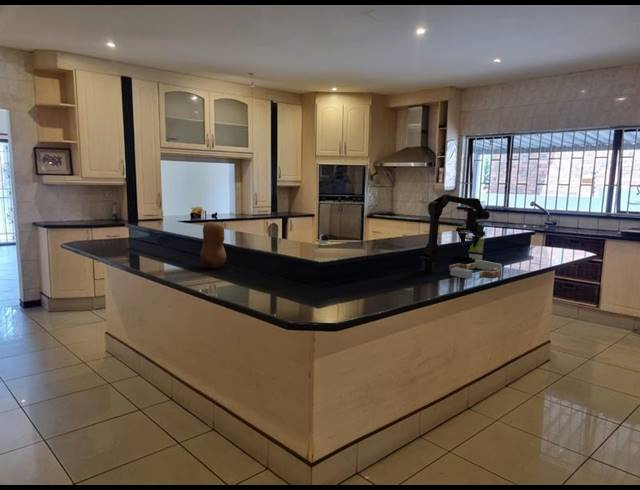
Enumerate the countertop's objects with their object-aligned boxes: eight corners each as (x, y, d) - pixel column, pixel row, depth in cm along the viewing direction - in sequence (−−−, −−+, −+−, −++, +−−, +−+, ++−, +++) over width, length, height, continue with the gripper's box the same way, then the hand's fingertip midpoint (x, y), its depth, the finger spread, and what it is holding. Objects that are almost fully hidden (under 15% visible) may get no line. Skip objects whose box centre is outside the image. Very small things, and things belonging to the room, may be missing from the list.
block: (466, 279, 245) (467, 271, 244) (450, 275, 252) (450, 268, 251) (472, 277, 249) (472, 270, 248) (455, 274, 256) (456, 267, 255)
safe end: (499, 272, 263) (500, 264, 262) (474, 267, 275) (475, 259, 274) (500, 272, 263) (501, 264, 262) (475, 267, 275) (476, 259, 275)
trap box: (487, 278, 246) (488, 273, 245) (448, 270, 264) (449, 265, 263) (507, 273, 260) (508, 268, 260) (469, 266, 278) (469, 261, 278)
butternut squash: (229, 266, 252) (229, 221, 247) (221, 271, 238) (222, 224, 234) (205, 264, 253) (205, 220, 249) (196, 269, 240) (196, 222, 236)
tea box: (458, 258, 304) (460, 236, 301) (458, 255, 313) (460, 234, 311) (482, 260, 299) (484, 238, 297) (481, 257, 309) (483, 236, 306)
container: (330, 253, 302) (330, 234, 300) (329, 255, 295) (330, 235, 293) (318, 252, 303) (319, 233, 301) (317, 254, 296) (318, 235, 293)
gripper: (494, 221, 257) (490, 248, 260) (471, 217, 274) (468, 243, 277) (478, 221, 253) (475, 248, 255) (456, 217, 270) (453, 243, 272)
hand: (468, 246), depth 265 cm, fingers open, 9 cm apart
